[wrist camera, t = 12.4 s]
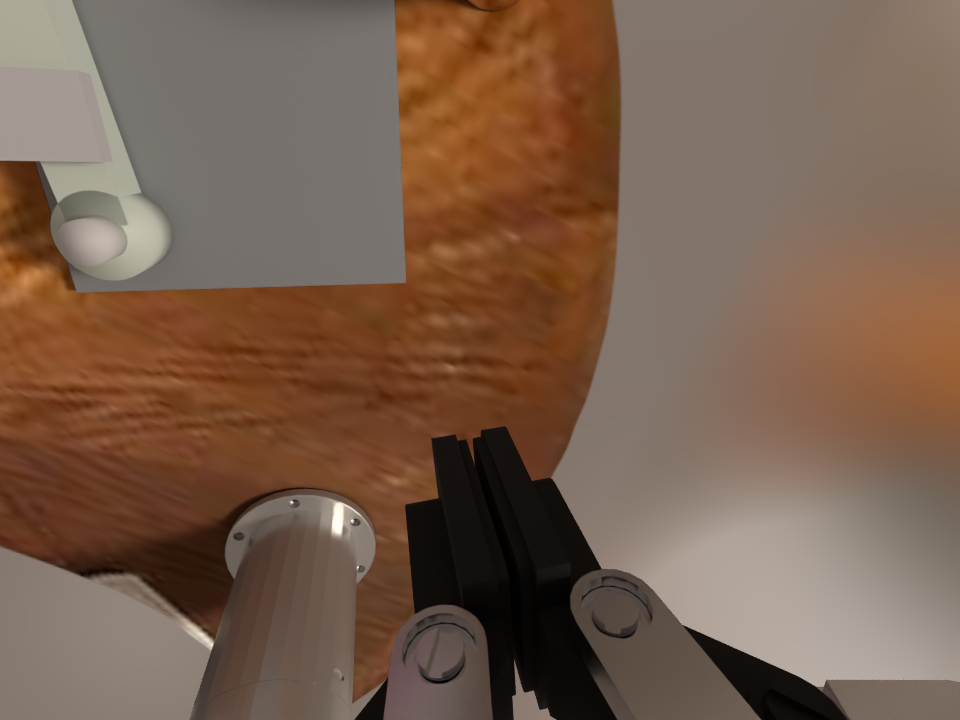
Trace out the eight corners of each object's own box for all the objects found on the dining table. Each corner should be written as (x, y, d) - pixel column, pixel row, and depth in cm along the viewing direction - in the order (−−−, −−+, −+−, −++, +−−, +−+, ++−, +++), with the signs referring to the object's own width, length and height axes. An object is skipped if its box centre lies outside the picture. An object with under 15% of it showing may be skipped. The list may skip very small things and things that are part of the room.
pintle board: (405, 279, 36) (410, 303, 30) (73, 288, 32) (9, 318, 26) (391, -60, 28) (395, -111, 22) (-55, -106, 24) (-184, -183, 18)
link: (184, 263, 31) (152, 282, 27) (100, 273, 31) (53, 295, 26) (59, -97, 24) (-13, -153, 19) (-56, -94, 23) (-159, -152, 19)
